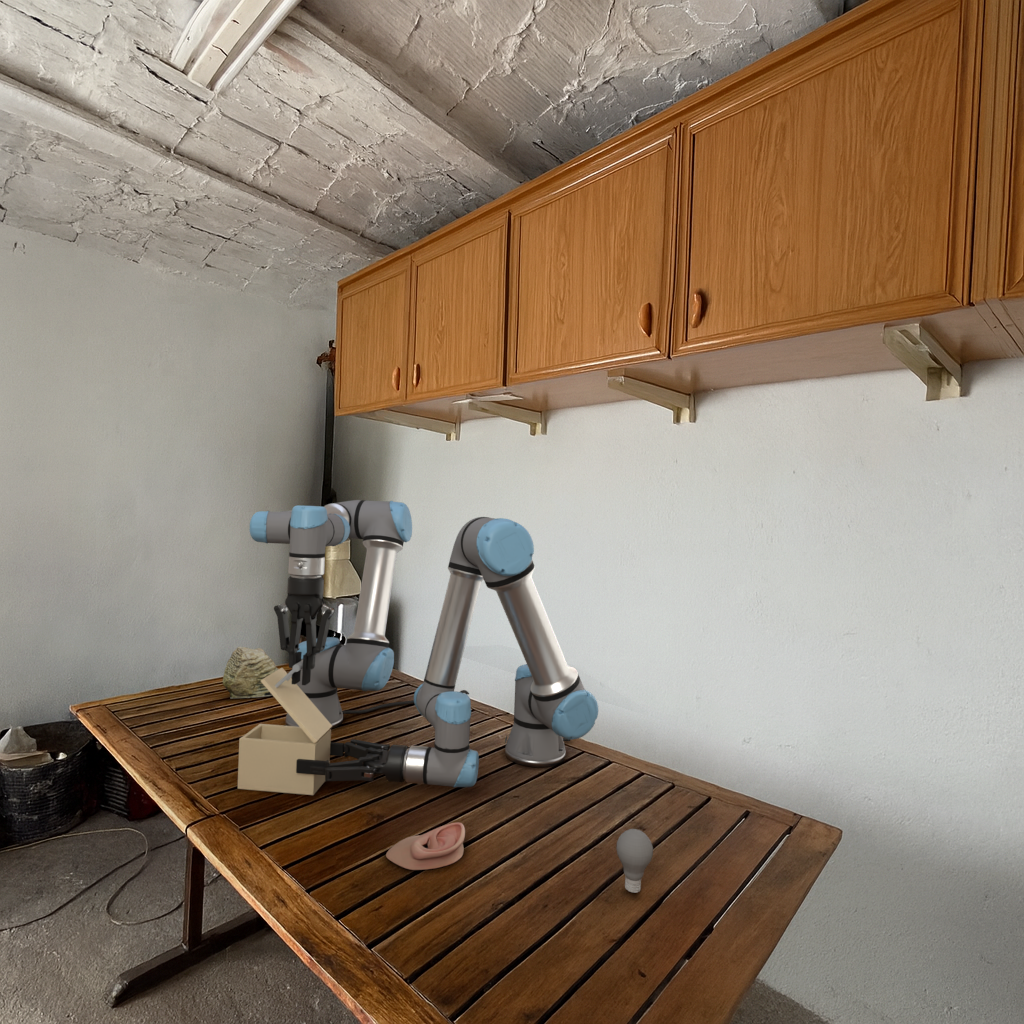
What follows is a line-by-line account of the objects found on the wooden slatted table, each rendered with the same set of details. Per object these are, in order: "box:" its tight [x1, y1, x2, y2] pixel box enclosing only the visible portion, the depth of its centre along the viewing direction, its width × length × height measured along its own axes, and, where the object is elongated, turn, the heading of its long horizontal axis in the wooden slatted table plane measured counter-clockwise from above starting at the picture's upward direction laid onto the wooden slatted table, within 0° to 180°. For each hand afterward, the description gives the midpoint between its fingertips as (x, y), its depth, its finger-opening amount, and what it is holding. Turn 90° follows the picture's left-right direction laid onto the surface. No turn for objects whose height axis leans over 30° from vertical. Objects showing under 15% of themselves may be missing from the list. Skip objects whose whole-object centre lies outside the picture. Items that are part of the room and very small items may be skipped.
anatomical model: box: [385, 821, 466, 871], centre depth 114 cm, size 13×4×12 cm
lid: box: [261, 660, 332, 743], centre depth 139 cm, size 18×9×8 cm
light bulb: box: [615, 828, 654, 894], centre depth 106 cm, size 6×6×10 cm
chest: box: [237, 723, 332, 796], centre depth 140 cm, size 17×9×11 cm, turn 86°
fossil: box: [222, 646, 280, 699], centre depth 198 cm, size 9×18×15 cm, turn 132°
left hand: (300, 682), depth 139 cm, fingers closed on lid, 2 cm apart
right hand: (306, 756), depth 139 cm, fingers closed on chest, 9 cm apart
